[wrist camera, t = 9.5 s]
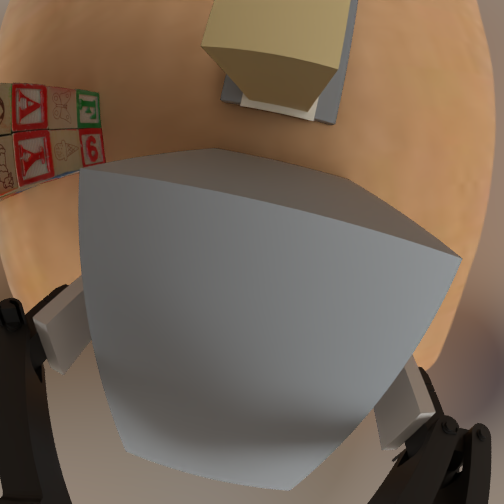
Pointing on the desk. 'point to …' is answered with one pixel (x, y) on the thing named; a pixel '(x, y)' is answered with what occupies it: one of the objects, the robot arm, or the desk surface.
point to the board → (283, 54)
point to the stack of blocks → (46, 134)
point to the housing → (248, 308)
